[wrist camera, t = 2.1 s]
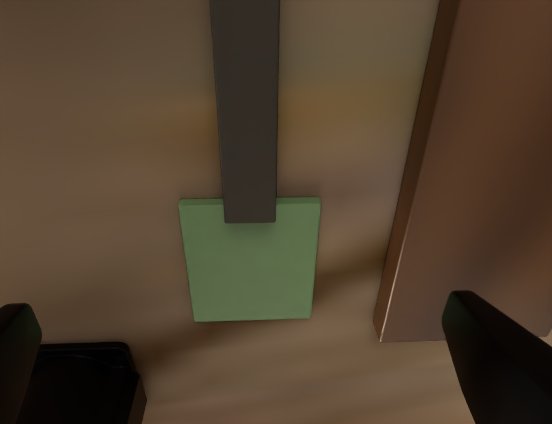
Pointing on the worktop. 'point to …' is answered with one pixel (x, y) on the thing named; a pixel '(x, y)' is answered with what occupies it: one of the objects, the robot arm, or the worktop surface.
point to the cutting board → (476, 174)
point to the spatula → (249, 186)
